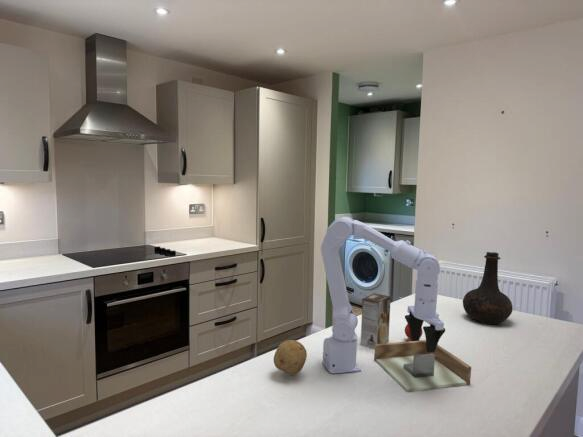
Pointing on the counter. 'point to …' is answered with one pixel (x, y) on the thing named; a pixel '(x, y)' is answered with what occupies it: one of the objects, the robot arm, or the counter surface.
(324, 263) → the robot arm
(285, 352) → the potato
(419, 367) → the bracket
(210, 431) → the counter surface
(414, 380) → the arena
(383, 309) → the coffee box
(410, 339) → the red round fruit
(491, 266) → the glass bottle
